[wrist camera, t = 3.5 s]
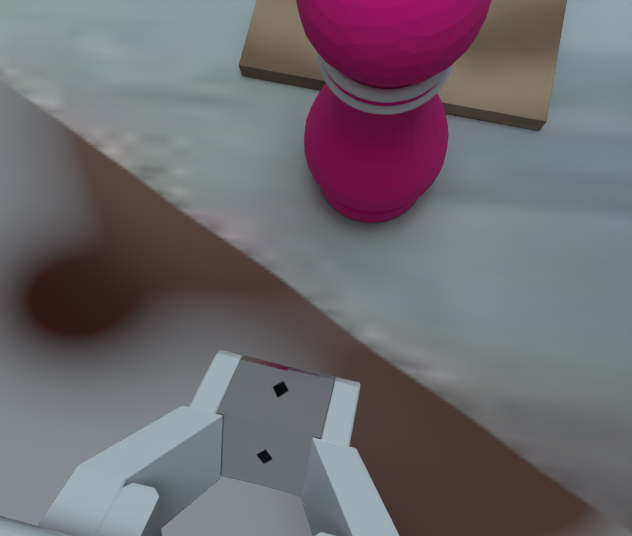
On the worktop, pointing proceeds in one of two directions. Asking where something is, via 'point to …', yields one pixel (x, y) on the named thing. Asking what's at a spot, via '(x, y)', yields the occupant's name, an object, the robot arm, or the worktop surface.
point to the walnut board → (466, 74)
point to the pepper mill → (382, 97)
